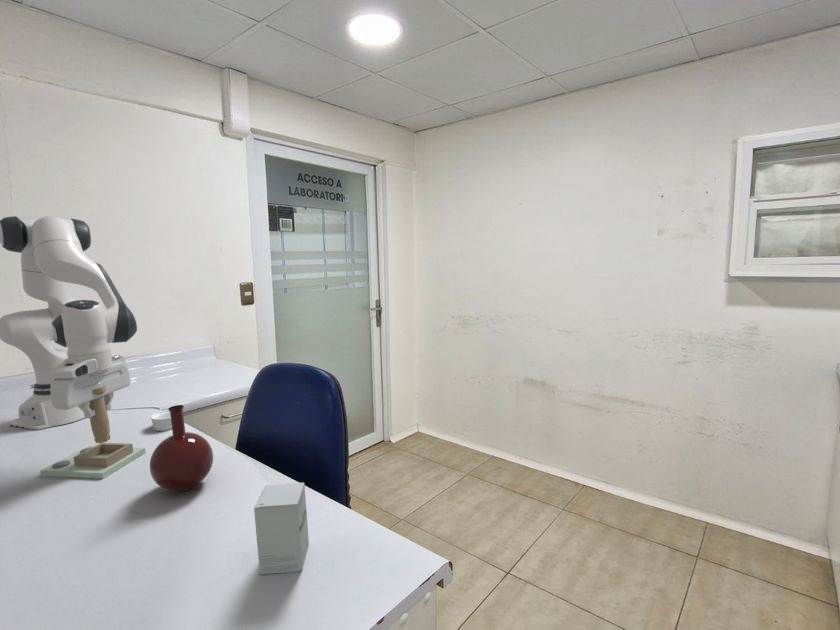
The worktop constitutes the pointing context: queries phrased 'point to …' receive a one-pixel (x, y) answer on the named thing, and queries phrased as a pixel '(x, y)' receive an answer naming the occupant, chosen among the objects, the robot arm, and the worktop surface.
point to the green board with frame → (94, 461)
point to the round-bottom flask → (181, 456)
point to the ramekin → (162, 420)
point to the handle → (99, 417)
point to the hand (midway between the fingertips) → (98, 413)
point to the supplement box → (281, 528)
